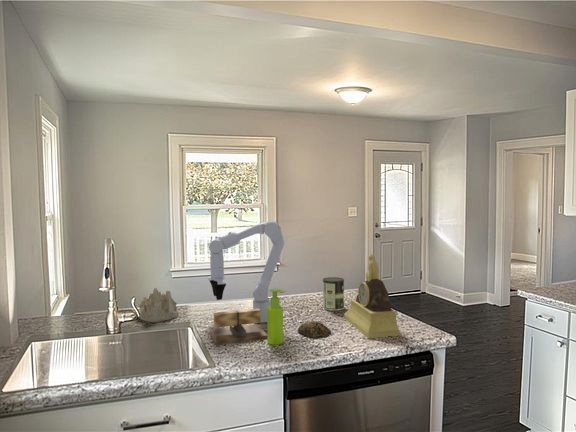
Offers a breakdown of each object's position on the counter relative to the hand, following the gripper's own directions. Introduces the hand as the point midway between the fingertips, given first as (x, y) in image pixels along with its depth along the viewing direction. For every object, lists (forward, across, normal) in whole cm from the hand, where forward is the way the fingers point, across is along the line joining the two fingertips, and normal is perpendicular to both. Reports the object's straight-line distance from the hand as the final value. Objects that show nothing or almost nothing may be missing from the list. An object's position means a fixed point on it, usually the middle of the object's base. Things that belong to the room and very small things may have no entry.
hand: (217, 297), depth 189 cm
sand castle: (+11, -17, -24) cm, 32 cm away
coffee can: (+11, -1, +56) cm, 57 cm away
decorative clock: (+11, +30, +58) cm, 66 cm away
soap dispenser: (+11, +35, +16) cm, 40 cm away
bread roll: (+11, +30, +34) cm, 46 cm away
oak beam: (+6, +22, +4) cm, 23 cm away
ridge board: (+10, +22, +4) cm, 25 cm away
